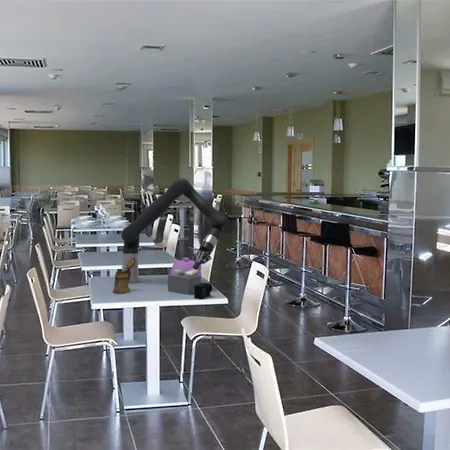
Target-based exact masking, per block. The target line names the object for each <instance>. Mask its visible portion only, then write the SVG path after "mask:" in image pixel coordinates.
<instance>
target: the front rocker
mask: <svg viewBox="0 0 450 450" xmlns="http://www.w3.org/2000/svg"><path fill="white" fill-rule="evenodd" d="M197 272H199V271H198V270H196V269H192V270H190V271H188V272H186V273H185V275H187V276H192V275H195V274H196V273H197Z"/></svg>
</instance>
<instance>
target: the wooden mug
mask: <svg viewBox="0 0 450 450" xmlns="http://www.w3.org/2000/svg"><path fill="white" fill-rule="evenodd" d="M134 264H135V258H132V259H131V260H129V261H128V262H127V265H126V270H125V271H122V270H118V271H116V272H115V274H114V286H113V289H112V293H114V294H121V295H123V294H124V295H125V294H128V293H130V287H129V280H130V277H131V271H130V269H131V268H132V267H133V266H134ZM127 274H128V275H127ZM127 277H128V278H127Z"/></svg>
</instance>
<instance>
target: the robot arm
mask: <svg viewBox="0 0 450 450" xmlns="http://www.w3.org/2000/svg"><path fill="white" fill-rule="evenodd" d="M182 195H183V196H184V197H186V198H187V199H188V200H189V201H191V202H192V203H193V204H194V206H195V207H196V209H198V210H199V212H200V213H201V214H202V215H203V216H205V218H206V219H207V220H208V219H209V220H211V219H212V220H214V222H213V224H212V225H211V228H210V230H208V233H207V234H206V236H205V238H204V239H203V240H202V243H201V244H200V246H199V248H198V250H197V252H196V253H195V252H193V253H192V261H194V262H195V264H194V266H193V268H194V269H196V270H197V269H198V268H199V266H200V265H201V266H202V265H205V264H206V263H208V262H209V261H211V260H212V259H213V257H212V256H211V254H212V252H213V251H214V250H215V248H216V245H217V244H218V241H219V239H220V237H221V235H222V232H223V231H224V230H225V228H226V227H227V226H228V224H229V218H228V216H226V215H225V214H224V213H223V212H221V211H219V210H218V209H216V208H215V207H214V206H213V205H212V204H210V203H209V202H208V201H207V200H206V199H205V198H204V197H203V196H201V194H200V193H199V192H197V190H196V188H194V186H193V185H192V184H191V183H190V181H189V180H188V179H187V178H185V177H179V178H176V179H175V180H174V182H173V183H172V184H171V185H170V186H169V187H168V189H166V190H165V191H164V193H162V194H160V195H159V196H158V197H157V198H156V199H155V200H153V201H152V202H151V203H150V204H149V205H148V206H147V207H146V208H145V209H144V210H143V211H142V212H141V213H140V214H139V216H137V218H136V219H135V220H133V221H132V222H131V223H130V224H129V225H128V226H125V227H124V228H123V229H122V231H121V239H122V240H123V246H122V247H123V248H122V265H121V271H125V270H126V265H127V262H128V261H129V260H131V259H132V258H135V264H134V266H133V267H132V268H131V269H130V271H131V277H130V280H129V283H130V284H131V283H132V284H133V283H137V282H139V248H140V234H142V232H143V231H144V230H145V229H146V228H147V227H149V226H150V225H152V224H153V223H155V222H156V221H157V220H158V219H159V218H161V217H162V216H163V215H164V214H165V213H166V211H167V210H169V208H170V207H171V205H172V204H173V203H174V201H176V200H177V199H178V198H180V197H181V196H182ZM127 275H128V274H127ZM127 278H128V277H127ZM129 283H128V284H129Z"/></svg>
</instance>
